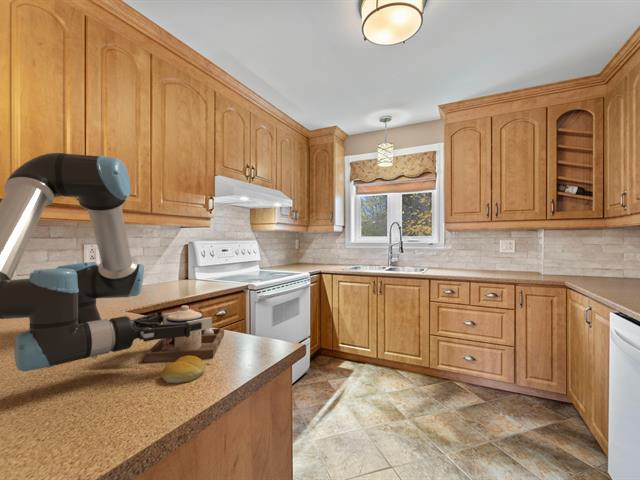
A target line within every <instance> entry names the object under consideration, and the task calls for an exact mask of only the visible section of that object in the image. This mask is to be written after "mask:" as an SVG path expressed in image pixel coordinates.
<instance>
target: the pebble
mask: <svg viewBox="0 0 640 480" xmlns="http://www.w3.org/2000/svg"><path fill="white" fill-rule="evenodd" d="M212 329H213V328H209V329H206V330H205V331H204V335H210V334H214V331H213V330H212Z"/></svg>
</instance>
